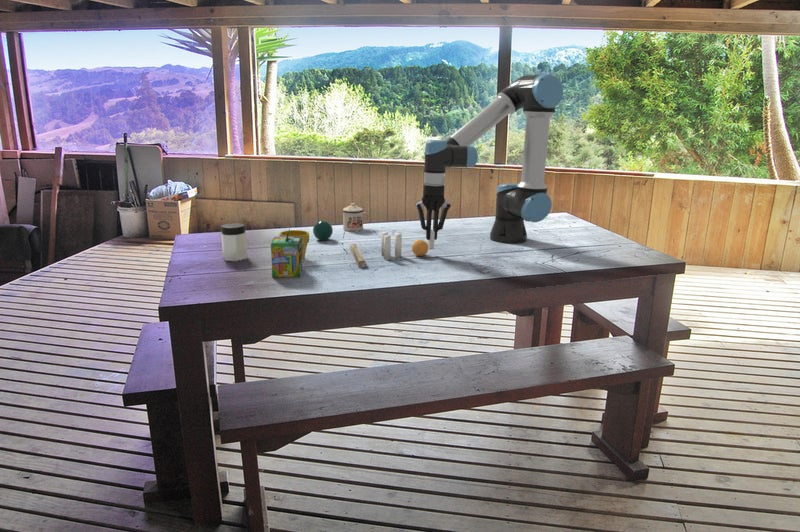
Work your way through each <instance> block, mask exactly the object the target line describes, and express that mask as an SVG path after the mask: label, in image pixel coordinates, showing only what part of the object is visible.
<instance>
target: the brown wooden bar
mask: <svg viewBox="0 0 800 532" xmlns="http://www.w3.org/2000/svg"><path fill="white" fill-rule="evenodd" d="M349 246H350V252H351V255H352V256H353V258H354V260H355V262H356V264H357V266H358V268H361V267H365V268H366V260H365V258H364V256H363V255H362V252H361V251H360V249H359V247H358V244H357V243H350V245H349ZM361 269H362V268H361Z"/></svg>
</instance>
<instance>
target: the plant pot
mask: <svg viewBox="0 0 800 532" xmlns="http://www.w3.org/2000/svg"><path fill="white" fill-rule="evenodd" d="M287 233H288V230H283V231H280V232H279V233H278V234H279V235H278V237H287ZM288 237H302V260H303V261H304V260H305V258H306V252H307V247H308V244H309V243H310V232H308V231H306V230H301V229H290V231H289V236H288Z"/></svg>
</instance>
